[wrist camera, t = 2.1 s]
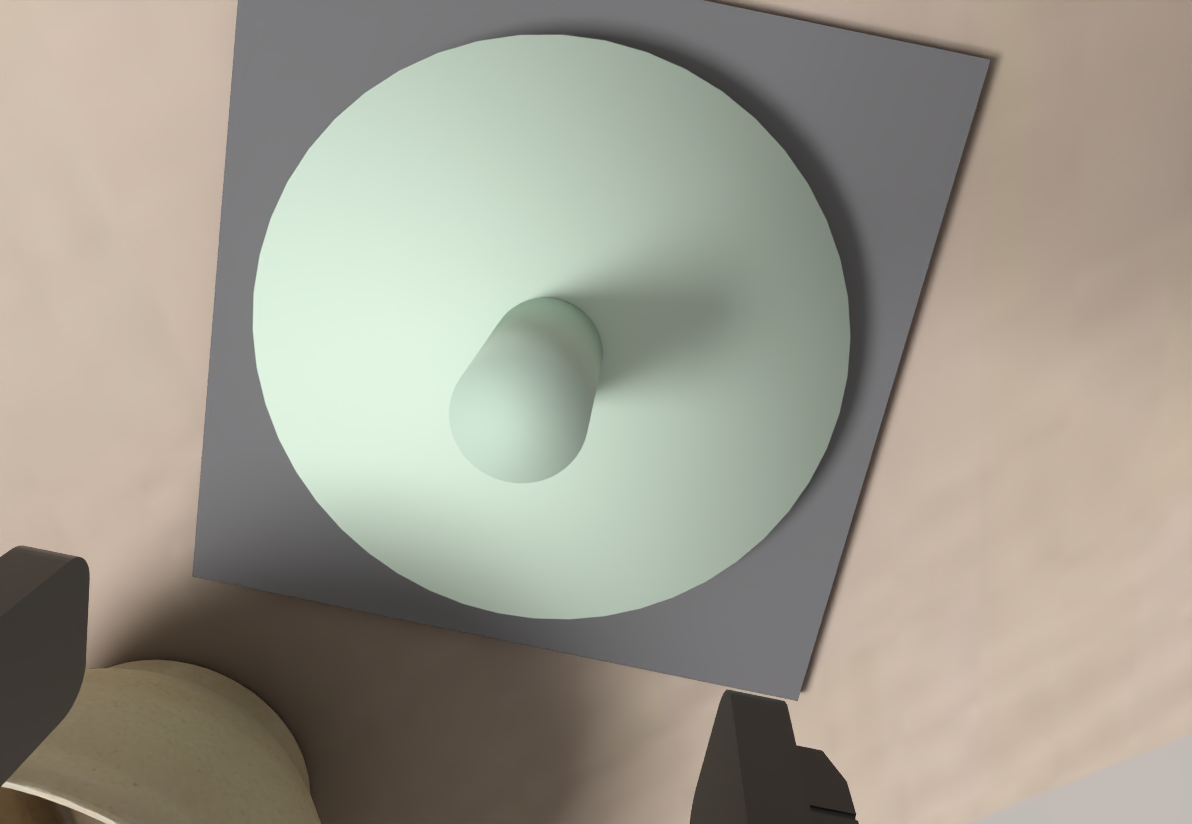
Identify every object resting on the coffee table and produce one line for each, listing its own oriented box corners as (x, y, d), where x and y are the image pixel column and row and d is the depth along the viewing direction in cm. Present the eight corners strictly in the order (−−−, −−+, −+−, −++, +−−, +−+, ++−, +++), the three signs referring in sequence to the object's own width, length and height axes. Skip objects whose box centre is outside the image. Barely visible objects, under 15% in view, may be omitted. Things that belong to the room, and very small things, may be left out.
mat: (985, 60, 27) (990, 59, 27) (795, 693, 33) (797, 701, 33) (251, -93, 27) (245, -95, 27) (197, 570, 33) (192, 576, 33)
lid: (918, 106, 27) (1001, 112, 20) (763, 651, 32) (789, 797, 26) (295, -23, 27) (177, -59, 20) (242, 544, 32) (133, 661, 26)
